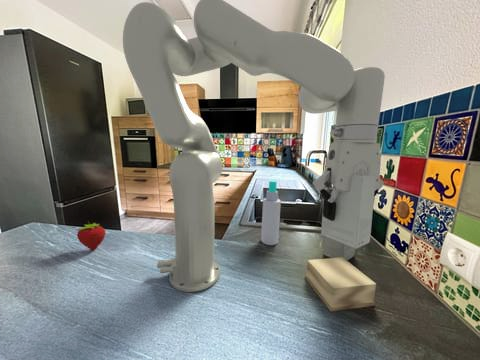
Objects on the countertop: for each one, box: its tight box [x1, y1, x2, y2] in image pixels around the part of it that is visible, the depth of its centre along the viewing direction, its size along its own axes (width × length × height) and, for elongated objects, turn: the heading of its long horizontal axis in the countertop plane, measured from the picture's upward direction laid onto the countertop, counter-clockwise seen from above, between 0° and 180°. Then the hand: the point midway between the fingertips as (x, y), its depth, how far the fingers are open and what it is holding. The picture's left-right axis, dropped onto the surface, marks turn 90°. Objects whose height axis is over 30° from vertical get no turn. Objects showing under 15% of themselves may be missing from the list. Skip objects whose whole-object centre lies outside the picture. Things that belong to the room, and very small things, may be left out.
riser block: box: [304, 257, 377, 312], centre depth 44 cm, size 10×10×5 cm
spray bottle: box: [260, 180, 282, 246], centre depth 65 cm, size 6×6×22 cm
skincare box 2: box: [322, 235, 356, 261], centre depth 58 cm, size 8×7×16 cm
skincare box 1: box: [320, 175, 375, 250], centre depth 41 cm, size 8×6×15 cm
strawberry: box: [76, 222, 107, 251], centre depth 57 cm, size 6×8×10 cm
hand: (345, 217), depth 41 cm, fingers closed on skincare box 1, 7 cm apart
